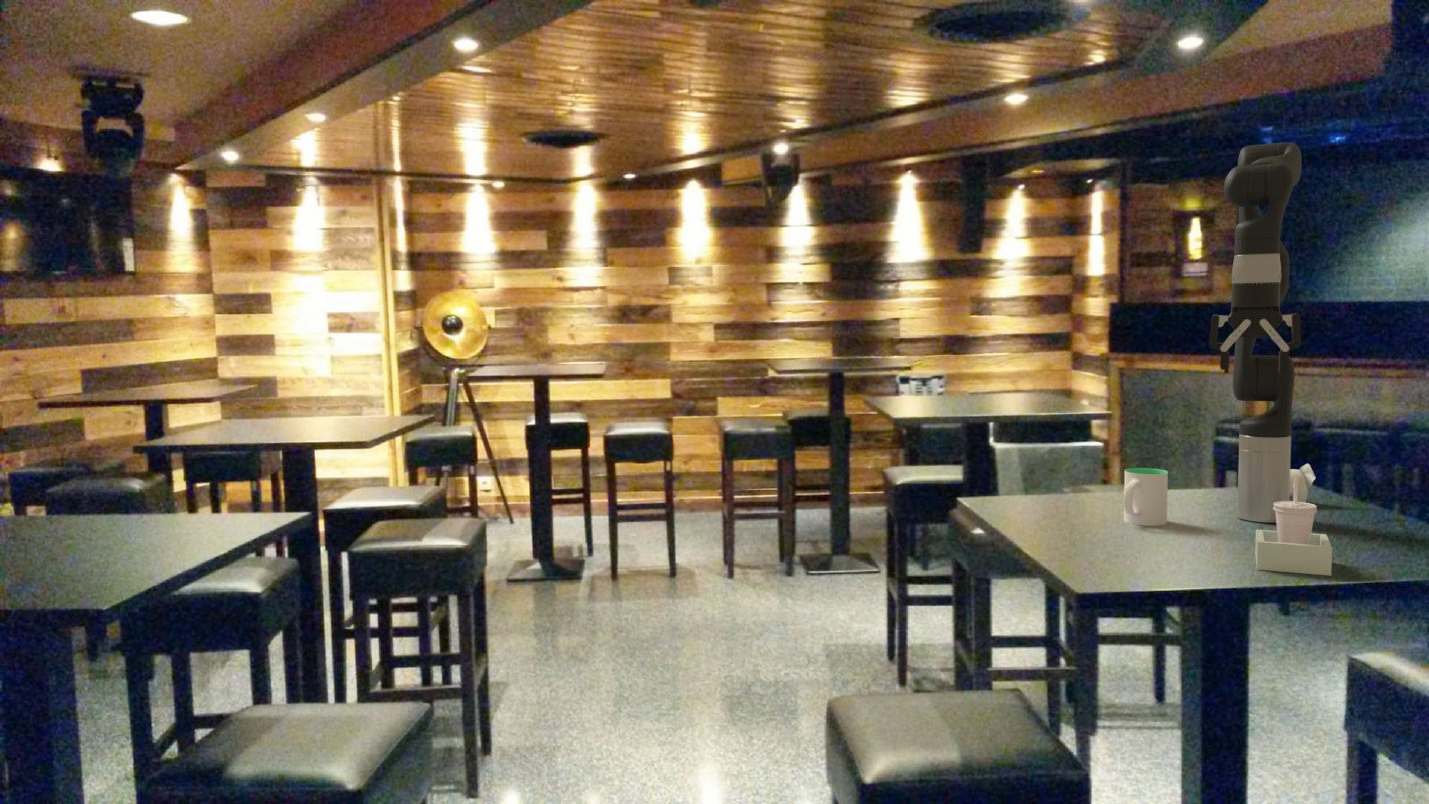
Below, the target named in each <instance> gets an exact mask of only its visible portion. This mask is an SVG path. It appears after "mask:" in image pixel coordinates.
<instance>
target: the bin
mask: <svg viewBox="0 0 1429 804" xmlns="http://www.w3.org/2000/svg"><path fill="white" fill-rule="evenodd" d="M1254 546H1255V553H1254V557H1255V563H1256V564H1255V565H1256V570H1262V571H1270V572H1271V571H1272V572H1281V573H1283V572H1284V573H1295V574H1307V575H1308V574H1309V575H1316V576H1317V575H1318V576H1319V575H1320V576H1330V577H1331V576H1332V562H1333V561H1332V560H1333V546H1332V545H1331V542H1330V540H1329V538H1328V535H1327V534H1326V533H1325V534H1324V533H1314V532H1313V533H1312V532H1311V537H1310V542H1309V545H1308V544H1294V543H1281V542H1278V532H1277V530H1270V529H1269V530H1268V529H1255V545H1254Z"/></svg>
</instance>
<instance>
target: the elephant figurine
mask: <svg viewBox="0 0 1429 804" xmlns="http://www.w3.org/2000/svg"><path fill="white" fill-rule="evenodd" d="M1294 478H1298V494H1297V502H1305V503H1307V499H1308V489H1309V488H1311V487H1312V485H1313V482H1314V481H1315V480H1316V475H1315V473H1314V470H1313V469H1312V467H1311V464H1309V463H1305V464H1304V465H1302V466H1301V467H1300V468H1299V469H1295V468H1292V469H1291V468H1290V490H1289V501H1293V500H1294Z"/></svg>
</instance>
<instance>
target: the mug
mask: <svg viewBox="0 0 1429 804" xmlns="http://www.w3.org/2000/svg"><path fill="white" fill-rule="evenodd" d="M1168 478H1169V472H1168V470H1165V469H1159V468H1151V467H1150V468H1147V467H1133V468H1127V469H1124V484H1123V485H1124V493H1123V506H1124V507H1123V522H1125V523H1127V524H1131V525H1136V526H1145V527H1149V526H1150V527H1152V526H1153V527H1157V526H1164V525H1166V524H1167V523H1168V492H1169V491H1168V487H1169V486H1168V485H1169V482H1168V480H1169V479H1168Z"/></svg>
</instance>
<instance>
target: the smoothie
mask: <svg viewBox="0 0 1429 804" xmlns="http://www.w3.org/2000/svg"><path fill="white" fill-rule="evenodd" d="M1297 494H1298V478H1294V500H1293V501H1279V502H1275V503H1274V505H1273V509H1274V510H1275V513H1276V522H1275V523H1276V531H1277V532H1278V542H1281V543H1294V544H1308V545H1309V542H1310V537H1311V533H1312V530H1313V526H1314V525H1313V524H1314V519H1315V514H1317V513H1318V511H1317V510H1318V509H1317V508H1318V505H1315V504H1314V503H1310V502H1306V503H1305V502H1297Z"/></svg>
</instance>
